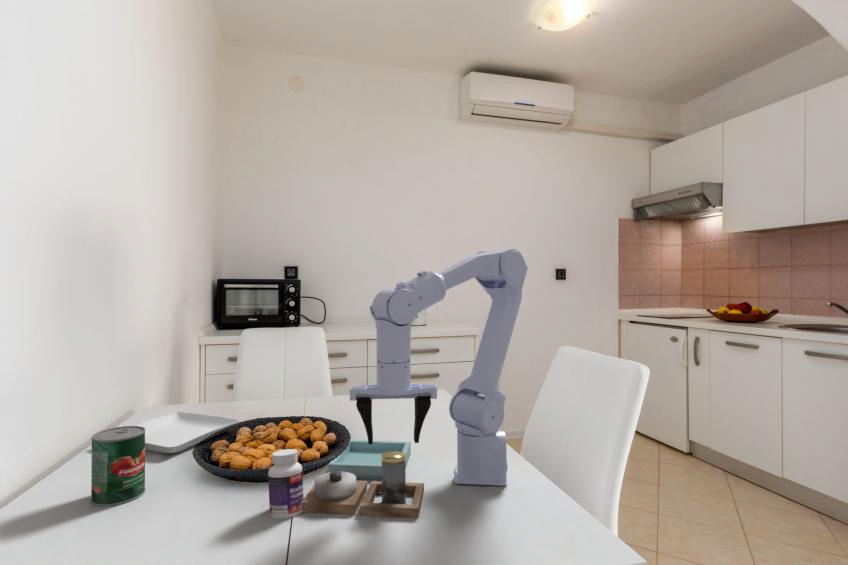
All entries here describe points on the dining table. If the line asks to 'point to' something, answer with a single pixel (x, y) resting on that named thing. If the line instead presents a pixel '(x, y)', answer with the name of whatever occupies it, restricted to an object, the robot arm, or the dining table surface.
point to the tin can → (394, 477)
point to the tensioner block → (357, 497)
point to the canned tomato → (118, 465)
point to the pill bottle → (285, 485)
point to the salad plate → (181, 430)
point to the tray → (367, 457)
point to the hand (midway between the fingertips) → (393, 441)
